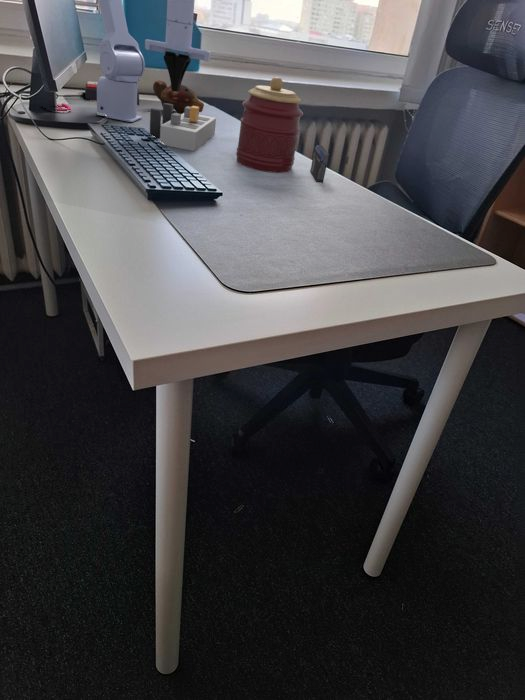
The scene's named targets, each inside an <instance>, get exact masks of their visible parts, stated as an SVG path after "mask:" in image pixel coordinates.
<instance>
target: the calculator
mask: <svg viewBox="0 0 525 700" xmlns="http://www.w3.org/2000/svg"><path fill="white" fill-rule="evenodd" d="M97 83H98V81H87V82H86V83H85V87H84V93H85V99H87V100H93V101H94V100H95V101H97ZM137 106H140V92H139V89H138V87H137Z"/></svg>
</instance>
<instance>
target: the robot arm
mask: <svg viewBox="0 0 525 700" xmlns="http://www.w3.org/2000/svg"><path fill="white" fill-rule="evenodd" d="M97 1H98V7H99V11H100V12H99V13H100V15H101V19H102V23H103V24H102V25H103V28H104V33H105V36H104V37H103V39H102V40H101V41H100V42H99V44H98V50H99V64H100V69H101V71H102V72H103V74H104V76H100V77H99V78H98V80H97V82H98V83H97V100H96V113H97V112H99V113H105V114H106V115H107V117H106V118H107V119H113V120H119V121H124V122H128V123H134V122H136V121H139V120H141V119H143V116H142V115H137V114H138V105H137V88H138V82H140V81H141V77H143V75H144V73H145V70H146V62H145V58H144V56H143V54H142V52H141V50H140V45H139V43H138V42H137V40H135V38H134V37H133V36H131V34H130V33H129V29H128V24H127V20H126V15H125V9H124V5H123V1H122V0H97ZM166 1H167V3H166V26H165V27H166V28H165V39H164V40H165V41H159V40H153V39H148V38H147V39H145V40H144V49H145V50H147V51H154V52H158V53H163V54H164V55H163V60H164V63H165V66H166V68H167V72H168V75H169V79H170V85H171V89H172V91H175V92H178V91H180V86H181V85H182V82H183V79H184V77H185V74H186V72H187V69H188V67H189V66H190V63H191V62H192V59H194V60H200V61H204V62H211V57H212V56H211V54H212V52H211V51H210V50H206V49H205V50H204V49H200V48H196V47H192V43H193V42H192V40H193V31H194V30H193V27H194V15H195V12H194V10H195V2H196V0H166ZM171 50H172V51H171ZM176 51H177V52H176ZM181 52H182V53H181ZM183 52H184V53H183Z"/></svg>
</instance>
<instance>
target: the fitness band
mask: <svg viewBox="0 0 525 700" xmlns="http://www.w3.org/2000/svg"><path fill="white" fill-rule="evenodd" d="M57 106H58V107H65V108H67V109H62V108H58V107H57V108H55V109H56V110H57V111H67V110H71V111H72V108H71V106H70V105H68V104H66V103H61V104H57Z"/></svg>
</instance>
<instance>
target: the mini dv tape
mask: <svg viewBox="0 0 525 700" xmlns="http://www.w3.org/2000/svg"><path fill="white" fill-rule="evenodd" d="M329 156H330V153H329V152H328V151H327V149H325V147H324V146H323V145H320V144H316V146H315V148H314V151H313V155H312V161H311V165H310V169H309V172H310V174H311V176H312V179H314V181H315V183H320V184H323V183H324V179H325V175H326V171H327V165H328V161H329Z"/></svg>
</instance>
